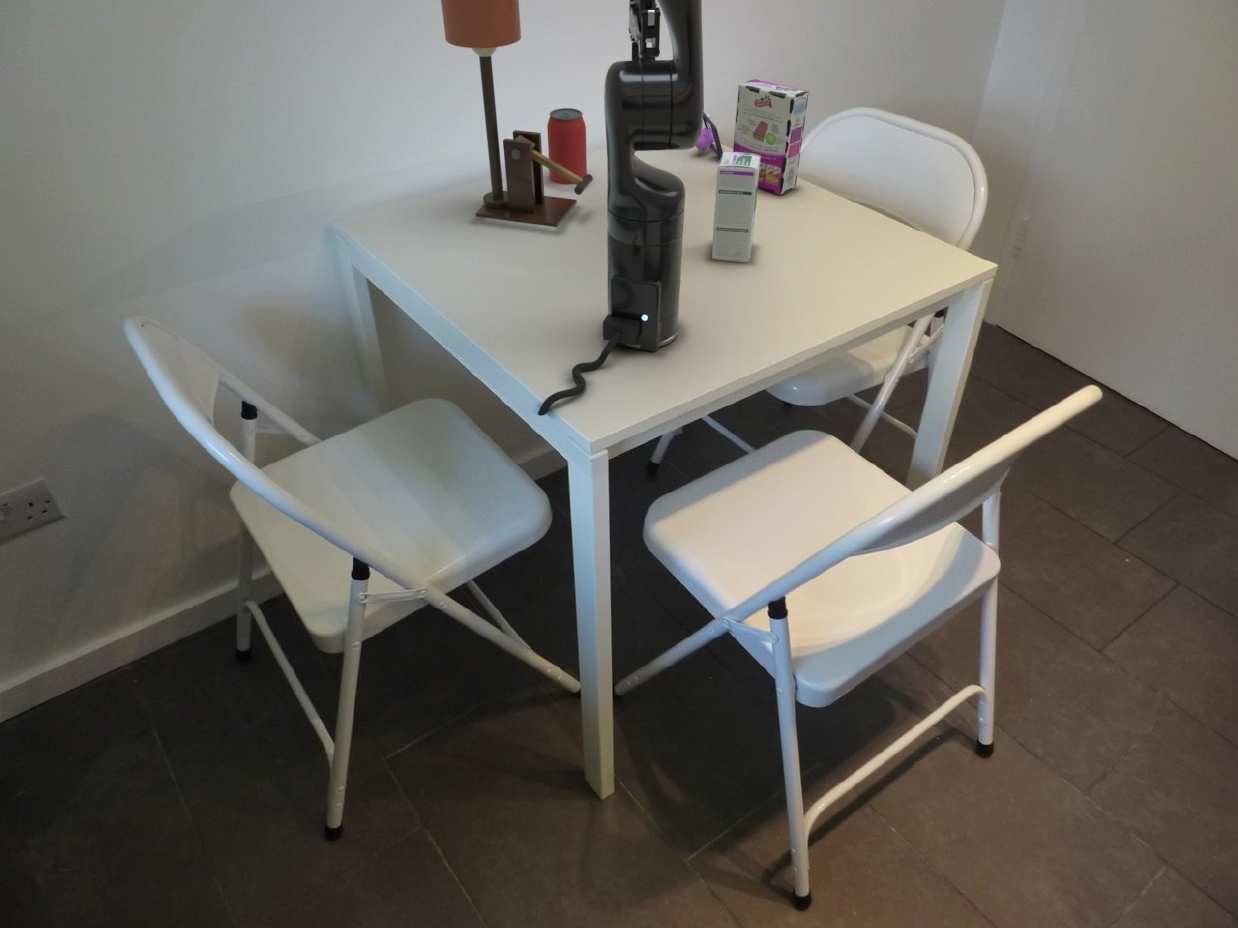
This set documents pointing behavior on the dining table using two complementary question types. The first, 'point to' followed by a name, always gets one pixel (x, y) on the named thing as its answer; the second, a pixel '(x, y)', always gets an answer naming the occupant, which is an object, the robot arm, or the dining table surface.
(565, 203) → the lamp base
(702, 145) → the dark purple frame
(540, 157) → the switch
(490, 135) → the lamp
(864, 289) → the dining table surface
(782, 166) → the candy bar box
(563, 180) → the beer can
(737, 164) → the syrup box
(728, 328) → the dining table surface
